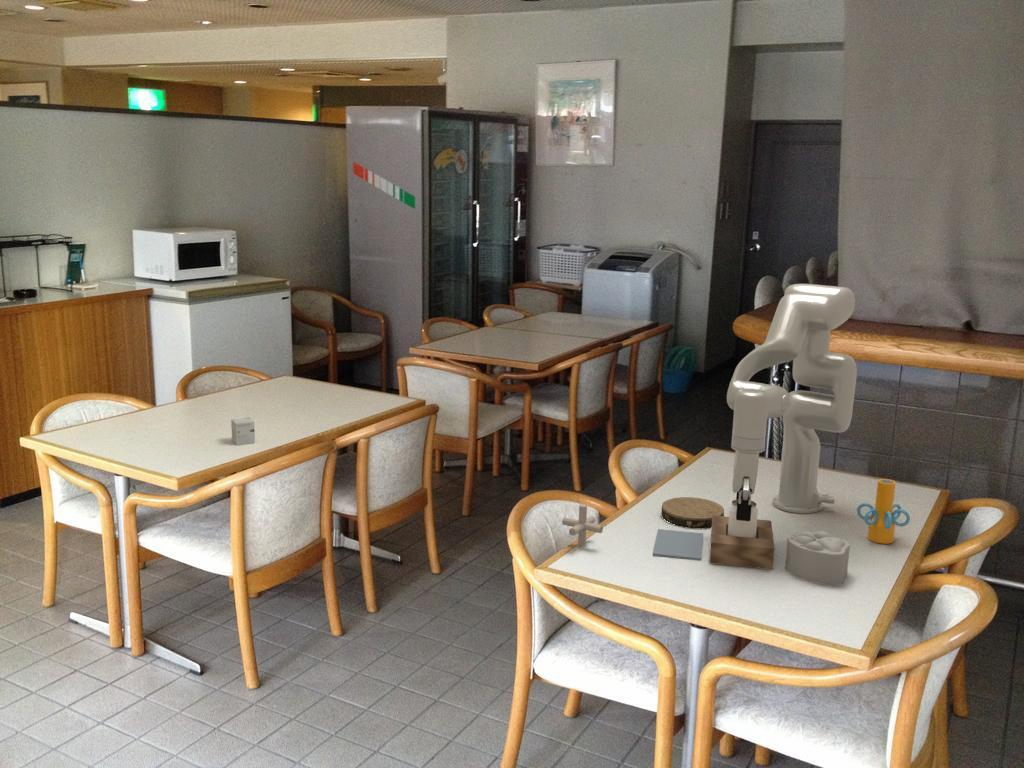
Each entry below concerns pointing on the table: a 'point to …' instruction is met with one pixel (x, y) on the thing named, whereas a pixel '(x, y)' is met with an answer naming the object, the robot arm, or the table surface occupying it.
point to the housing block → (742, 545)
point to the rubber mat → (678, 544)
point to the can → (742, 522)
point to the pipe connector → (582, 525)
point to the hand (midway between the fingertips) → (742, 513)
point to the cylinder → (883, 514)
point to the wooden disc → (691, 512)
